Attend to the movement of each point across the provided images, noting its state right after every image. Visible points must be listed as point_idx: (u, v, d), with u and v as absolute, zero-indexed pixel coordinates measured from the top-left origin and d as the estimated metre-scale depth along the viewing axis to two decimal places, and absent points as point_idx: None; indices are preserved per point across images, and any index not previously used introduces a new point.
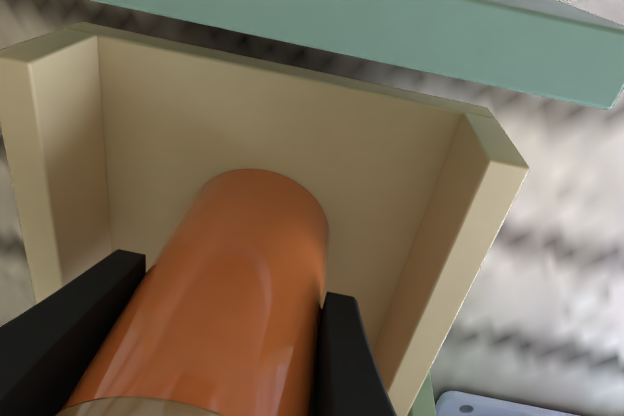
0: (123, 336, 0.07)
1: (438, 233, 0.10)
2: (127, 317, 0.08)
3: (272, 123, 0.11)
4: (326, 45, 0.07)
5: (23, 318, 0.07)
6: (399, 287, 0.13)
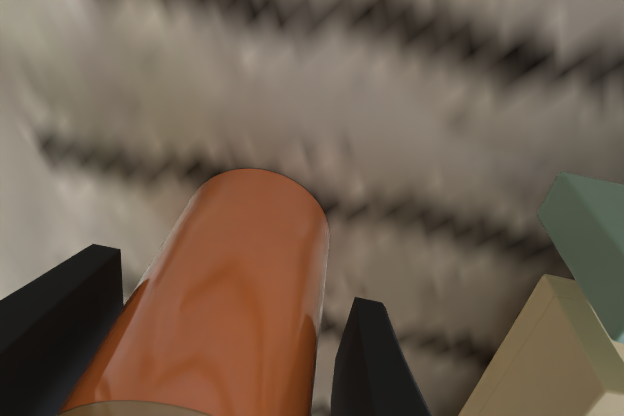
0: (121, 339, 0.07)
1: None
2: (125, 319, 0.08)
3: None
4: None
5: None
6: None
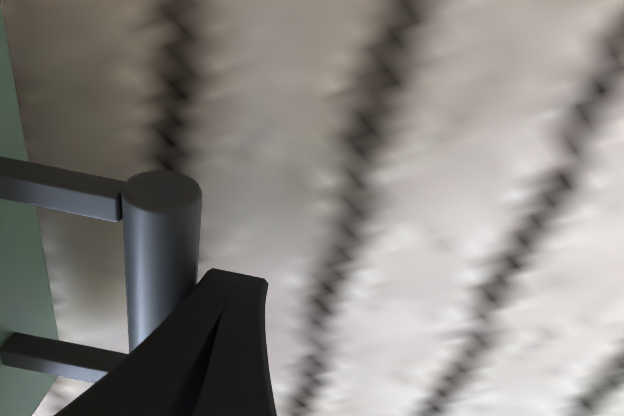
0: None
1: None
2: None
3: None
4: None
5: (151, 344, 0.07)
6: None
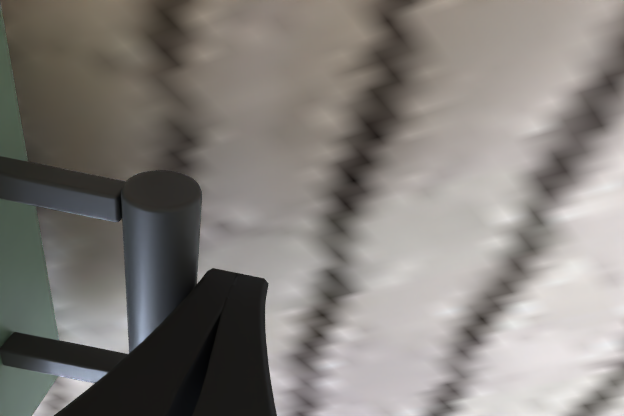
0: None
1: None
2: None
3: None
4: None
5: (151, 344, 0.07)
6: None
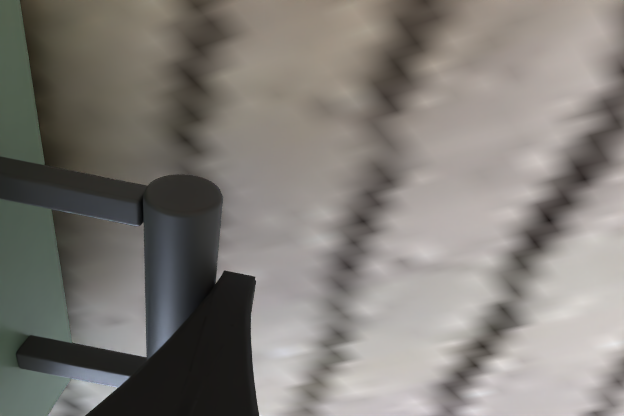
0: None
1: None
2: None
3: None
4: None
5: (172, 348, 0.07)
6: None
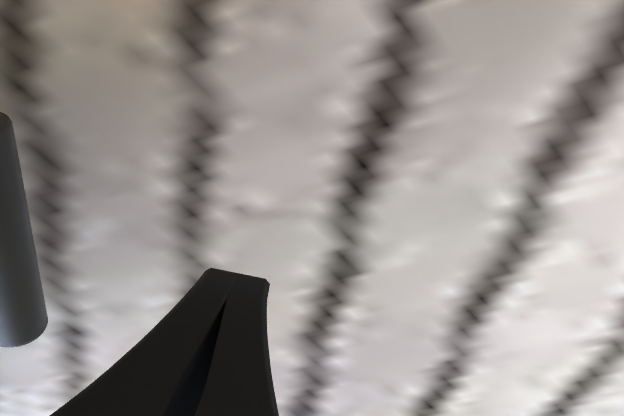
0: None
1: None
2: None
3: None
4: None
5: (149, 343, 0.07)
6: None
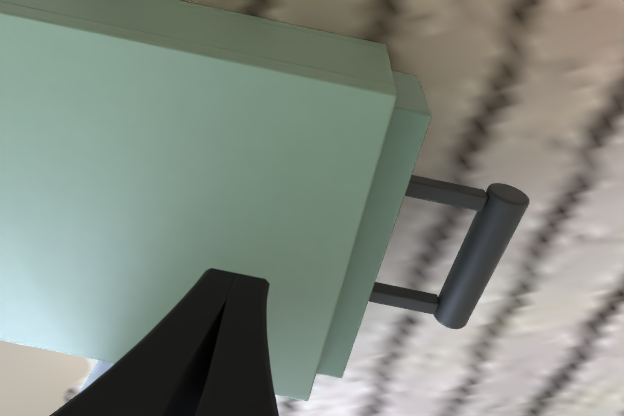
0: None
1: None
2: None
3: None
4: None
5: (148, 344, 0.07)
6: None
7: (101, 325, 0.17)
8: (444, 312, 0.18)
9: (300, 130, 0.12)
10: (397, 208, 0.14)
